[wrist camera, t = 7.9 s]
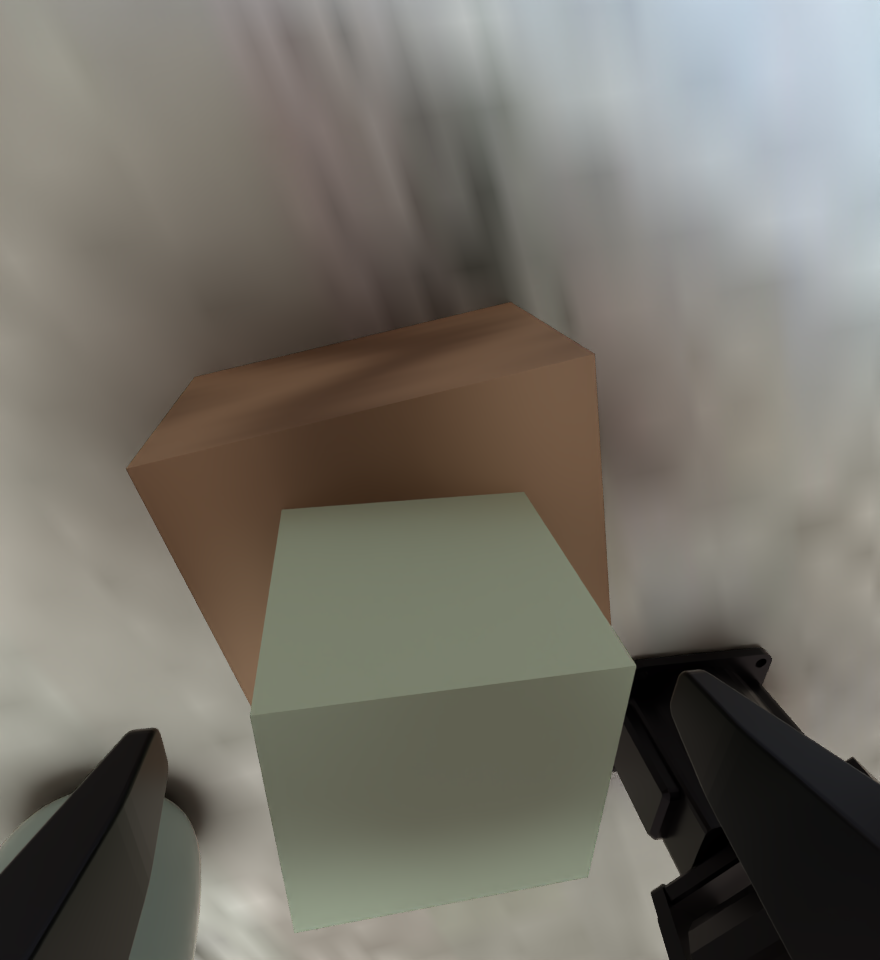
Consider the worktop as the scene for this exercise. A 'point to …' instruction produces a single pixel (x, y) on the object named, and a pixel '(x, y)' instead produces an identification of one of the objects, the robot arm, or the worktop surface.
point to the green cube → (431, 706)
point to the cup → (172, 888)
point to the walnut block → (373, 450)
